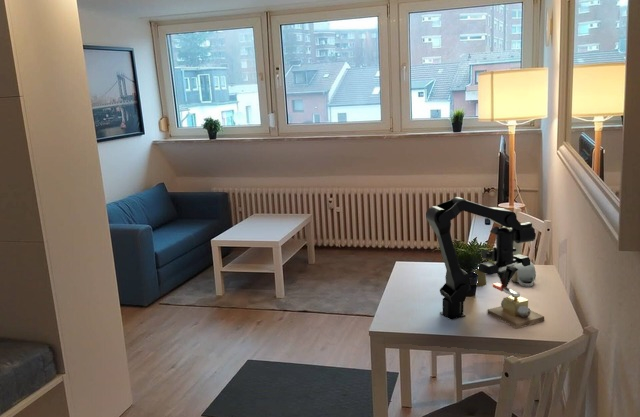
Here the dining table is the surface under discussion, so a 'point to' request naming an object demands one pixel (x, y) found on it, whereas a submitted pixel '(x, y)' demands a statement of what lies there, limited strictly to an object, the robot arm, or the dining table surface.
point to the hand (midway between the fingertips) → (504, 287)
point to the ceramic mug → (524, 274)
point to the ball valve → (516, 306)
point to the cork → (481, 278)
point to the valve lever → (506, 290)
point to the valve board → (515, 321)
